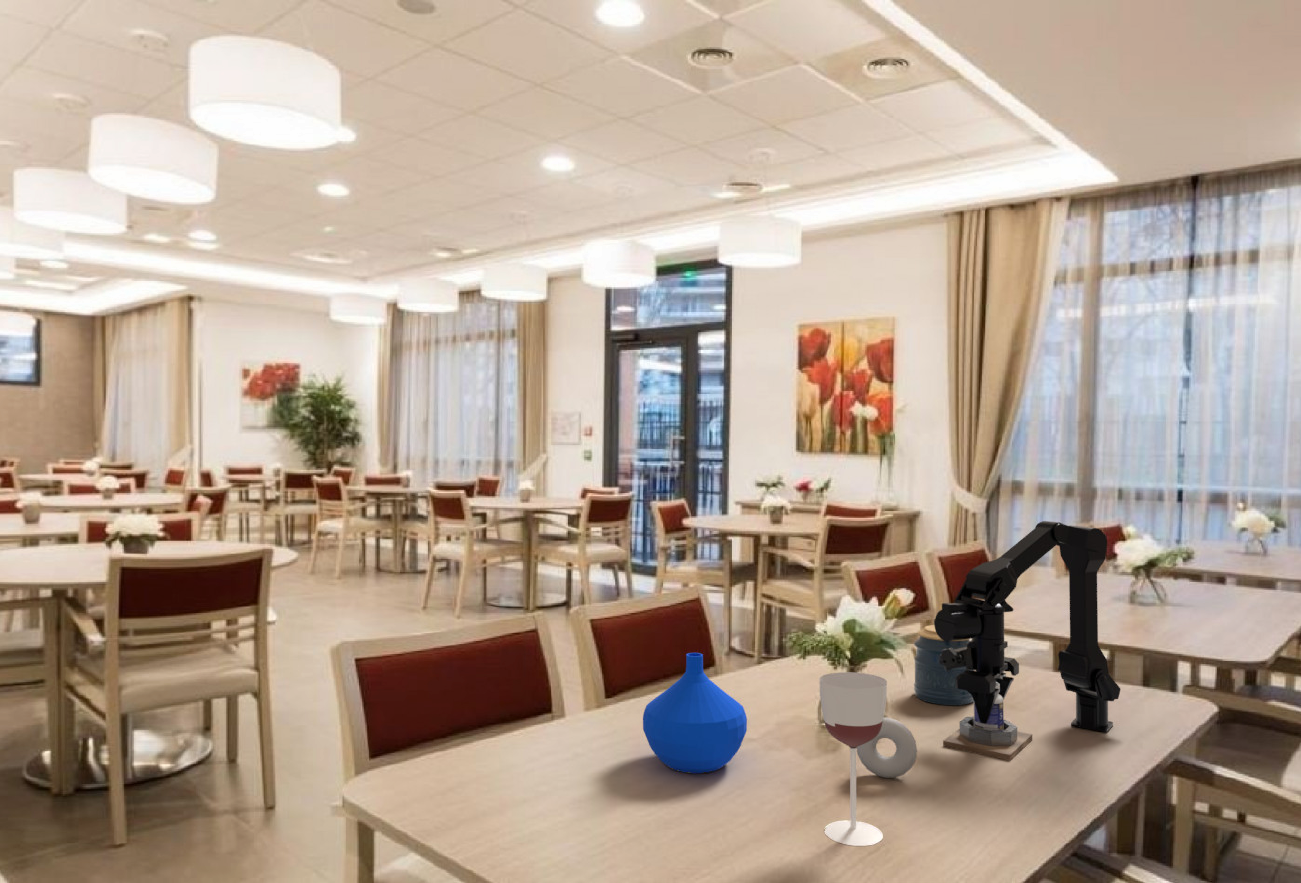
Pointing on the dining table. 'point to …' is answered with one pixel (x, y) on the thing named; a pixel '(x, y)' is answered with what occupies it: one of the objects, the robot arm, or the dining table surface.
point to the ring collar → (988, 733)
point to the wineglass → (853, 737)
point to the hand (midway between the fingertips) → (988, 719)
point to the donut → (902, 756)
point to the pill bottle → (992, 715)
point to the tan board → (994, 751)
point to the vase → (694, 722)
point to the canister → (937, 670)
